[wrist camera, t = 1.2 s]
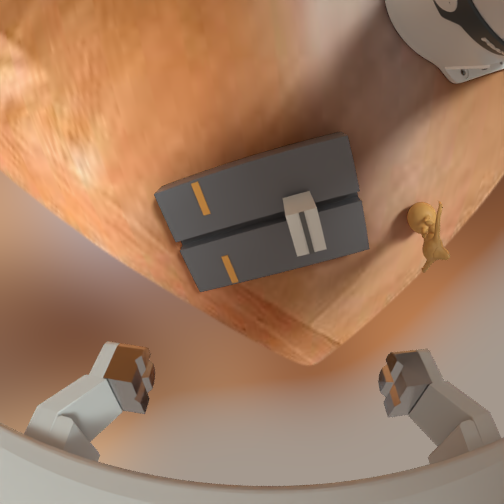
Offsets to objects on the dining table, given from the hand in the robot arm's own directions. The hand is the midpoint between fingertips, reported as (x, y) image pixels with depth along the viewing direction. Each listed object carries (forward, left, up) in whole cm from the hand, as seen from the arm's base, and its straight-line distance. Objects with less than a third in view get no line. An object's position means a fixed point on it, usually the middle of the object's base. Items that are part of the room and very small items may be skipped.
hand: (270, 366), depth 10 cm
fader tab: (-2, +6, -26) cm, 27 cm away
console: (+2, +6, -28) cm, 29 cm away
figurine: (-16, +11, -29) cm, 34 cm away
